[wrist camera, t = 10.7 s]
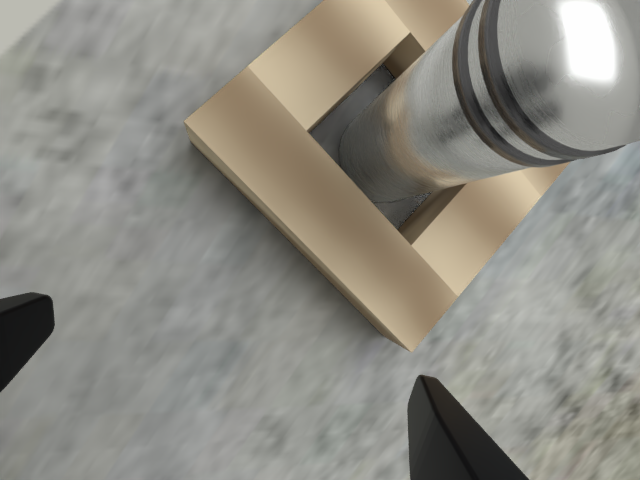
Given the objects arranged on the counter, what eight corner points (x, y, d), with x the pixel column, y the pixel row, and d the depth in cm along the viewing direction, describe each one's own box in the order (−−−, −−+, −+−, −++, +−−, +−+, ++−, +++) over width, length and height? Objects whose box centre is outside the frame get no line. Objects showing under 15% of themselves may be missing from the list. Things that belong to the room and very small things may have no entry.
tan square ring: (384, 336, 20) (411, 352, 17) (190, 141, 17) (183, 121, 14) (532, 163, 22) (578, 151, 19) (382, -28, 20) (409, -74, 17)
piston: (423, 207, 20) (688, 161, 9) (334, 199, 19) (507, 133, 7) (427, 115, 20) (695, -53, 9) (339, 101, 19) (517, -117, 7)
